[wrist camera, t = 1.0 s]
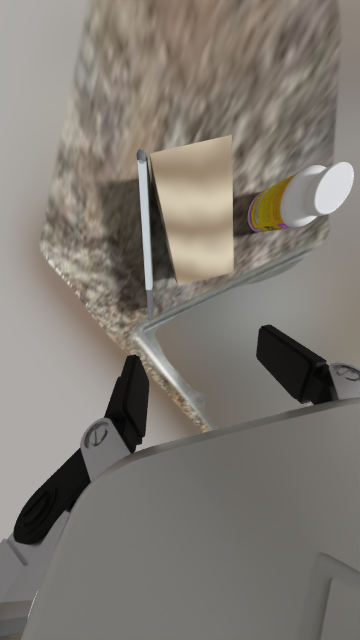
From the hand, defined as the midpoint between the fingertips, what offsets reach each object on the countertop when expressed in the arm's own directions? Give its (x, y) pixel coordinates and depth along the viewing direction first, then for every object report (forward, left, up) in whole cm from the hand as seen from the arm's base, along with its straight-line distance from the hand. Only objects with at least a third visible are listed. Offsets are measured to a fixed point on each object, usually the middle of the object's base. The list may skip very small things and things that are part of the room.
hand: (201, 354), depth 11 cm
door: (-7, -3, -23) cm, 24 cm away
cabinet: (-9, +5, -24) cm, 26 cm away
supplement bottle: (-9, +20, -24) cm, 33 cm away
